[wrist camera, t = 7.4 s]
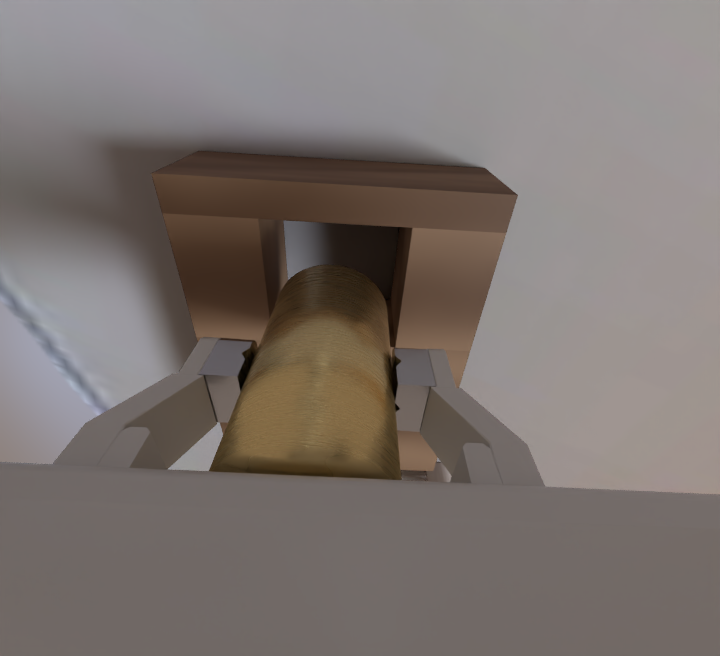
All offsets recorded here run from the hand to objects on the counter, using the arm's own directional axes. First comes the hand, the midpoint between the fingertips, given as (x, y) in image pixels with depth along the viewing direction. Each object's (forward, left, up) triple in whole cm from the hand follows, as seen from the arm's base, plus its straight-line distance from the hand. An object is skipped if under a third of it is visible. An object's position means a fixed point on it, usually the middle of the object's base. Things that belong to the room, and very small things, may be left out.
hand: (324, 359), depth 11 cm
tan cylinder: (0, 0, -3) cm, 3 cm away
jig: (+4, 0, -8) cm, 9 cm away
